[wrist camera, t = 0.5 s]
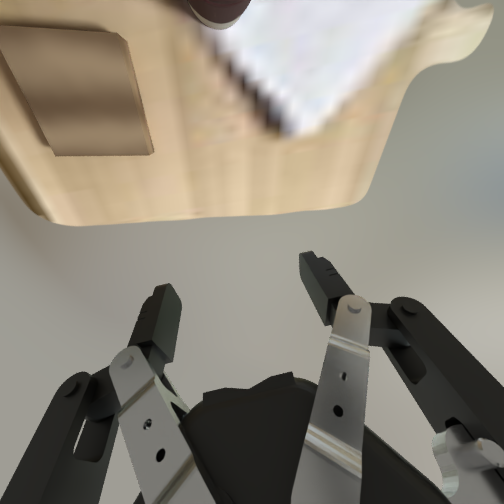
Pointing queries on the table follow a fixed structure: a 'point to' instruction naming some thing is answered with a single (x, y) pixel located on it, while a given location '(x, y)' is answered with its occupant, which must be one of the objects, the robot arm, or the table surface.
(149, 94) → the table surface
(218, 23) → the coffee cup
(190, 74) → the table surface
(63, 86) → the base
